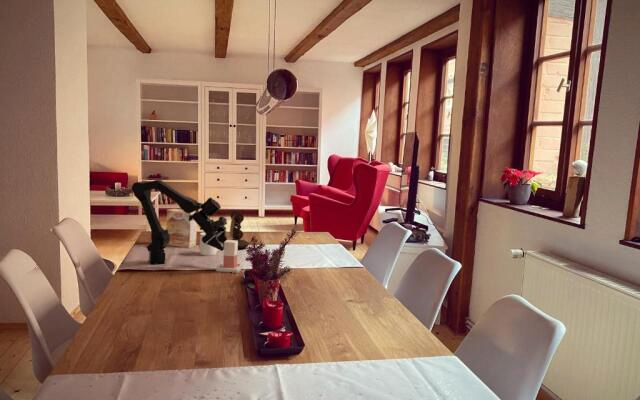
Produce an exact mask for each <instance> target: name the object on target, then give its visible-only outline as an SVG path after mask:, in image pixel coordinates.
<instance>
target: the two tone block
mask: <svg viewBox="0 0 640 400" xmlns="http://www.w3.org/2000/svg"><path fill="white" fill-rule="evenodd" d="M223 249H224V250H223V261H222V263H223V267H225V268H236V267H237V264H238V241H236V240H230V239H227V240H226V241H225V242H224V246H223Z"/></svg>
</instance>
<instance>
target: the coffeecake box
mask: <svg viewBox="0 0 640 400" xmlns="http://www.w3.org/2000/svg"><path fill="white" fill-rule="evenodd" d="M195 212H196V211H195ZM195 212H192V213H186V212H184V211H183V210H182V209H181V208H180V209H179V208H171V209H170V208H169V209H166V229H167V230H168V234H169V236H170V237H169V238H170V241H169V244H168V245H167V246H173V247H179V248H189V249H190V248H193V247H196V246H197V230H198V229H197V228H198V227H197V226H198V224H197V223H196V222H195V221H194V219H193V220H192V221H189V215H193V214H194V213H195ZM166 229H165V230H166Z"/></svg>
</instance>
